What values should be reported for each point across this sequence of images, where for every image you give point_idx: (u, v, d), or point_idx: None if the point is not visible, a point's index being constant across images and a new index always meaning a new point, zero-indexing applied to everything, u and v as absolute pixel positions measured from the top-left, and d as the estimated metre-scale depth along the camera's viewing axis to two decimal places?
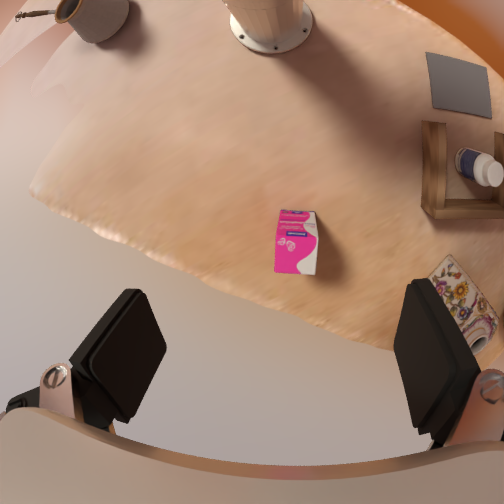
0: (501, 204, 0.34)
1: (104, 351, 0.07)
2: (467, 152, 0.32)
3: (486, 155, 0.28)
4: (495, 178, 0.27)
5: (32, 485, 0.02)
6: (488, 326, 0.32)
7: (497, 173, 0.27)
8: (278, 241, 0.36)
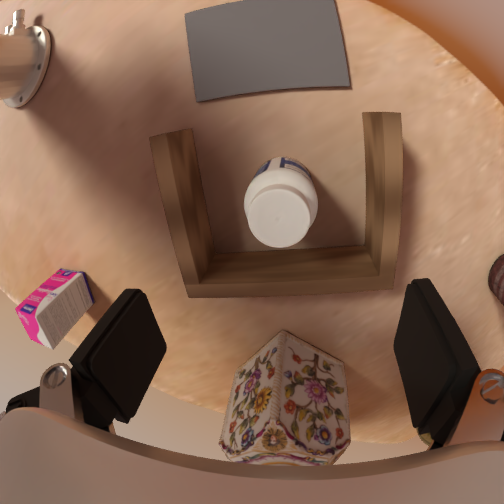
0: (373, 258, 0.24)
1: (105, 351, 0.07)
2: (258, 170, 0.22)
3: (270, 174, 0.18)
4: (278, 229, 0.17)
5: (32, 485, 0.02)
6: (305, 462, 0.22)
7: (283, 216, 0.17)
8: (18, 314, 0.26)
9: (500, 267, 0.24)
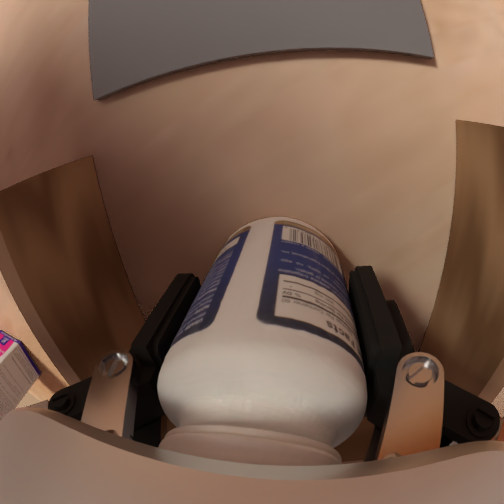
0: None
1: (168, 334, 0.07)
2: (213, 268, 0.09)
3: (220, 363, 0.05)
4: None
5: (32, 485, 0.02)
6: None
7: None
8: None
9: None
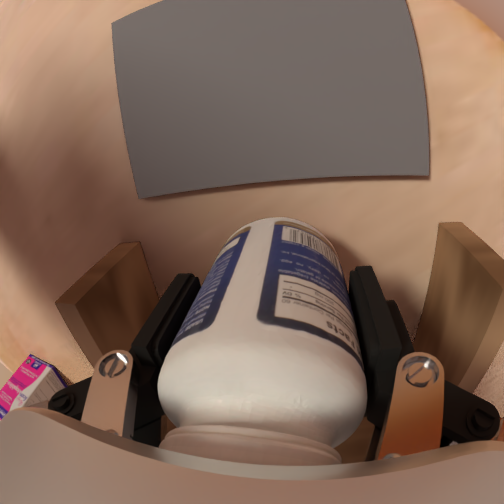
0: None
1: (168, 334, 0.07)
2: (213, 269, 0.09)
3: (220, 363, 0.05)
4: None
5: (32, 485, 0.02)
6: None
7: None
8: None
9: None
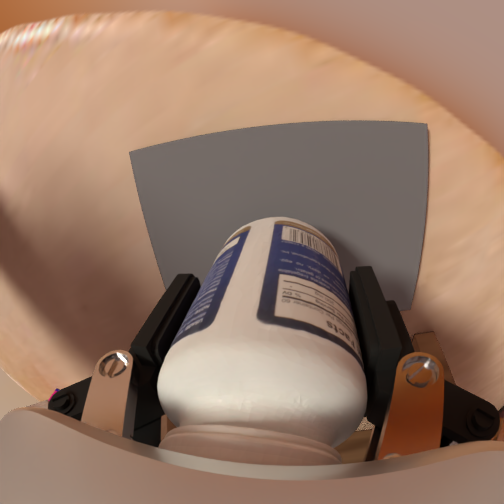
0: None
1: (168, 334, 0.07)
2: (213, 268, 0.09)
3: (220, 363, 0.05)
4: None
5: (32, 485, 0.02)
6: None
7: None
8: None
9: None
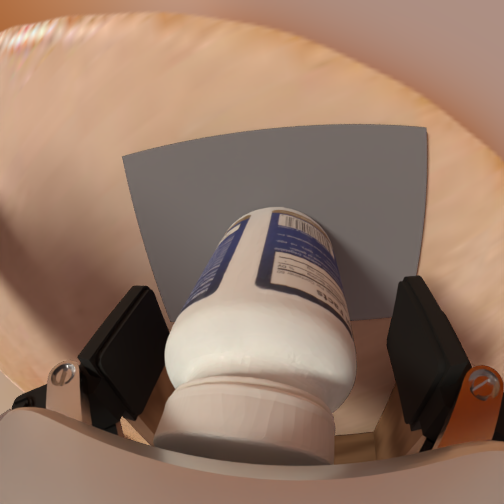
0: None
1: (113, 348, 0.07)
2: (216, 251, 0.10)
3: (223, 321, 0.06)
4: None
5: (32, 485, 0.02)
6: None
7: None
8: None
9: None
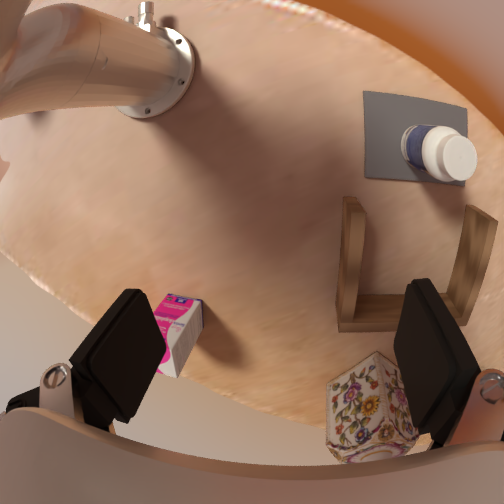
0: (456, 305, 0.30)
1: (104, 351, 0.07)
2: (416, 129, 0.22)
3: (445, 128, 0.18)
4: (460, 165, 0.17)
5: (32, 485, 0.02)
6: (397, 449, 0.27)
7: (464, 156, 0.17)
8: None
9: None
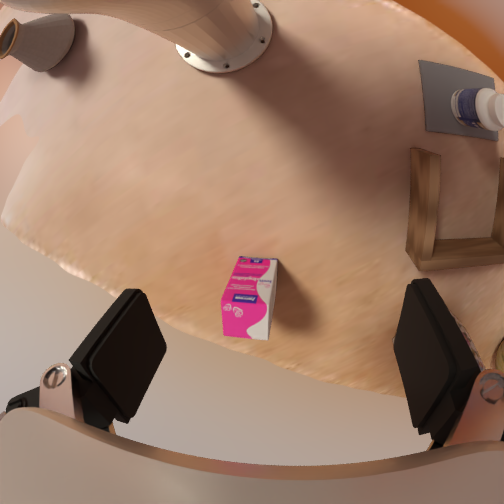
0: (502, 244, 0.29)
1: (104, 351, 0.07)
2: (464, 91, 0.22)
3: (490, 89, 0.17)
4: None
5: (32, 485, 0.02)
6: None
7: None
8: (223, 307, 0.31)
9: None
